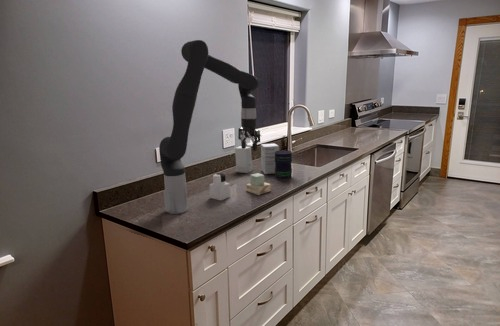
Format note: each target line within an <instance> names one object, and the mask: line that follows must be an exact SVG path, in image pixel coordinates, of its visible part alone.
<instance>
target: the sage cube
mask: <svg viewBox="0 0 500 326" xmlns="http://www.w3.org/2000/svg"><path fill="white" fill-rule="evenodd" d="M264 182H265V174H261V173H252V174H250V183H251V184H252V185H254V186H260V185H264Z"/></svg>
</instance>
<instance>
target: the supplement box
mask: <svg viewBox="0 0 500 326" xmlns="http://www.w3.org/2000/svg"><path fill="white" fill-rule="evenodd" d="M275 151H280V145H278V144H276V143H262V144H260V157H261V158H260V160H261V161H260V162H261V172H262V173H264V175H269V174H271V175H272V174H275Z"/></svg>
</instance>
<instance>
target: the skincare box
mask: <svg viewBox="0 0 500 326" xmlns="http://www.w3.org/2000/svg"><path fill="white" fill-rule="evenodd" d="M234 154H235V155H234V156H235V169H236V170H235V171H236V173H242V174H243V173H244V174H249V173H250V172H253V158H252V157H253V156H252V146H246V148H244V149H243V148H242V146H241V145H239V146H236V147H234Z"/></svg>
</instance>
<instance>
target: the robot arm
mask: <svg viewBox="0 0 500 326" xmlns="http://www.w3.org/2000/svg"><path fill="white" fill-rule="evenodd" d="M209 50H210V49H209V46H208V44H207V43H206V42H205V40H202V39H201V40H200V39H196V40H190V41H188V42H185V43H184V44H183V45H182V47H181V51H180V53H181V56H182V58H183V60H185V61H186V62H187V67H186V70H185V72H184V74H183V77H182V78H181V80H180V82H179V83H178V85H177V86H176V89H175V92H174V96H173V100H172V106H171V107H172V111H171V112H172V121H173V122H172V123H173V125H172V131H171V135H170V136H166V137H164V138H163V139H162V140H161V141H160V143H159V147H158V148H159V149H158V150H159V159H160V165H161V168H162V172H163V181H164V190H163V191H162V192H163V202H164V211H165V212H166V213H168V214H170V215H177V214H183V213H185V212H187V211H188V210H189V209H188V206H189V205H188V193H187V181H186V169H185V166H184V164H183V162H182V161H181V159H182V158H183V157H184V156H185V154H186V152H187V148H188V147H187V146H188V139H189V131H190V126H191V123H192V118H193V113H194V110H195V108H196V107H195V106H196V103H197V99H198V98H197V97H198V92H199V89H200V83H201V79H202V76H203V73H204V70H205V69H206V70H208V71H210V72H212V73H214V74H216V75H218V76H220V77H221V78H223V79H225V80H227V81H228V82H230V83H232V84H236V85H238V86H237V88H238V93H239V96H240V100H241V103H240V104H241V111H240V123H241V125H240V126H241V127H239V128H238V135H237V136H238V138H237V139H238V140H240V141H241V143H240V144H241V145H240V146H242V148H243V149H244V148H246V147H247V142H246V140H247V139H249V140H250V141H251V142H252V146H251V150H252V151H253V152H256V151H257V150H258V143H261V131H260V129H257V130H256V127H257V107H256V106H257V103H256V101H257V100H256V97H255V96H254V95H252V92H253V91H255V90H257V89H258V87H259V84H260V83H259V80H258V78H257V76H255V75H253V74H252V73H249V72H246V71H244V70H241V69H240V68H238V67H237V66H235V65H233V64H231V63H229V62H227V61H226V60H225V61H224V60H222V59H220V58H217V57H214V56H212V55H210V54H209V53H210V51H209ZM251 91H252V92H251Z"/></svg>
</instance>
